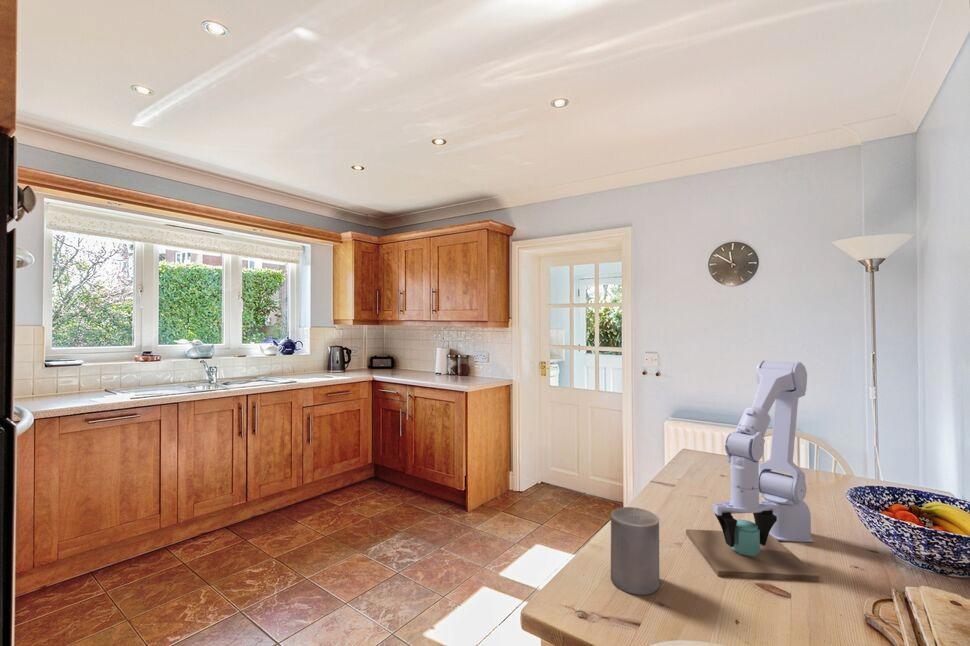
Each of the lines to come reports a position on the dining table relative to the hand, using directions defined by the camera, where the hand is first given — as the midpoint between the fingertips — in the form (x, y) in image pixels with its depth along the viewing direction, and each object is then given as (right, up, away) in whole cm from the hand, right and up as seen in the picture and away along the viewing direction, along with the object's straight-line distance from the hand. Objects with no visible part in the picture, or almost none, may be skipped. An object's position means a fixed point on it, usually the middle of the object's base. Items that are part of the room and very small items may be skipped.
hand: (745, 544), depth 104 cm
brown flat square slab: (0, -3, 0) cm, 2 cm away
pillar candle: (-29, -3, -11) cm, 31 cm away
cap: (0, -1, 0) cm, 1 cm away
